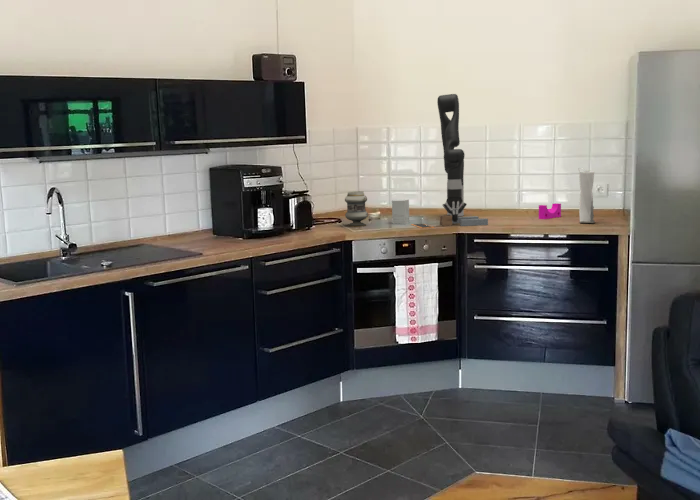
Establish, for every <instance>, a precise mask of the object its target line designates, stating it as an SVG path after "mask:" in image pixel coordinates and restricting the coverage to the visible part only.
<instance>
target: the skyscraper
mask: <svg viewBox="0 0 700 500" xmlns="http://www.w3.org/2000/svg"><path fill="white" fill-rule="evenodd" d="M580 170H583V171H580ZM578 174H579V190H580V194H579V202H578V203H579V204H578V205H579V209H578V211H579V213H578V214H579V223H580V224H594V223H595V222H596V220H594V217H595V216H594V209H595V207H594V198H593V187H594V178H595V171H594V170H586V169H585V168H583V167H578Z"/></svg>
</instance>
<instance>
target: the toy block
mask: <svg viewBox="0 0 700 500" xmlns="http://www.w3.org/2000/svg"><path fill="white" fill-rule="evenodd" d="M556 217H557V218H561V217H562V203H552V205H551V208H548V206H547V204H540V205H538V220H549V219H556Z"/></svg>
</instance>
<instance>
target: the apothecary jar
mask: <svg viewBox="0 0 700 500" xmlns="http://www.w3.org/2000/svg"><path fill="white" fill-rule="evenodd" d="M367 201H368V197H367V196H366V195H365V193H364V191H363V190H361V191H360V190H357V191H356V190H355V191H354V190H353V191H348V192H347V195H346V196H345V197H344V202H346V207H347V208H346V209H347V210H346V211H347V212H346V213H345V214H344V216H345V218H346V219H347V220H349V221H352V222H351V223H349V224H347V226H348V227H351V228H353V227H355V228H359V227H361V228H362V227H366V226H367V224H365V223H364V222H362V221H363V220H366V219H367V218H368V217H369V213H368V212H367V210H366V202H367Z"/></svg>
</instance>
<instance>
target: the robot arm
mask: <svg viewBox="0 0 700 500" xmlns="http://www.w3.org/2000/svg"><path fill="white" fill-rule="evenodd" d="M437 109H438V115H439V121H440V133H441V140H442V141H441V143H442V149H443V164H444V171H445V173H446V175H447V181H446V201H445V202H444V203H442V207H443V208H444V209H445V211H446V213H447V214H446V215H451V216H452V221H453V222H457V220H458V217H465V216H464V215H465V213H464V211H465V208H466V207H467V203H466V202H464V200H465V199H464V198H465V197H464V193H465V192H464V188H465V187H464V183H465V182H464V171H465V160H464V159H465V155H466V154H465V151H464V150H463V149H460V148H458V146H460V132H459V131H460V130H459V129H460V128H459V125H460V124H459V123H460V100H459V96H458V94H457V93H451V94H448V93H447V94H442V95H438V97H437ZM446 113H452V117H451V119H450V118H449V117H448V115H447V114H446Z"/></svg>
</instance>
